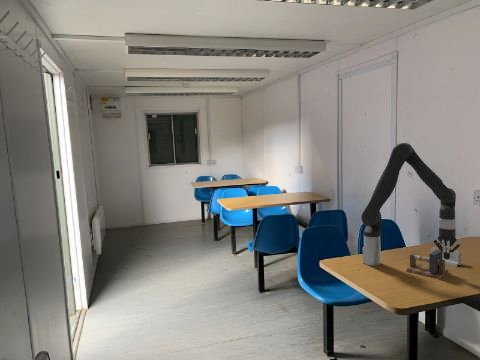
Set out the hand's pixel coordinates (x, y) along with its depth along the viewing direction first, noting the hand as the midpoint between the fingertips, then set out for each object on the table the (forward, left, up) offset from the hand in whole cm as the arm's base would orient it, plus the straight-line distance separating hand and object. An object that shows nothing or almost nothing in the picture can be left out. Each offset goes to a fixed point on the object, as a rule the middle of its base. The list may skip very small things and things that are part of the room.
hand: (446, 259), depth 179 cm
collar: (-5, 0, -7) cm, 9 cm away
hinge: (-8, +22, -10) cm, 25 cm away
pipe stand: (-10, 0, -9) cm, 14 cm away
